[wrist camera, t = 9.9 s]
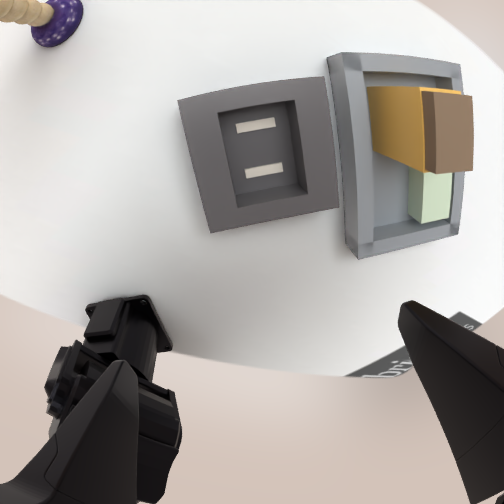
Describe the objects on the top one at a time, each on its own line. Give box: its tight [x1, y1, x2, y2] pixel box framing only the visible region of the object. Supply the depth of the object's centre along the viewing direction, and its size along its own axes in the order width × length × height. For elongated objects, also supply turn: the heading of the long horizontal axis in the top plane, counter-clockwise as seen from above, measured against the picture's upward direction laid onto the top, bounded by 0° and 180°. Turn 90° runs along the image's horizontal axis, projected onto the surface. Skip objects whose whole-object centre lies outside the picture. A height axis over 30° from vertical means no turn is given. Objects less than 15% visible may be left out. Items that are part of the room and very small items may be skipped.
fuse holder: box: [177, 76, 339, 233], centre depth 17 cm, size 8×8×3 cm
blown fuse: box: [367, 86, 474, 174], centre depth 14 cm, size 5×3×7 cm
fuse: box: [408, 166, 452, 224], centre depth 19 cm, size 5×3×2 cm, turn 10°
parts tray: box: [327, 52, 465, 260], centre depth 18 cm, size 14×10×2 cm
